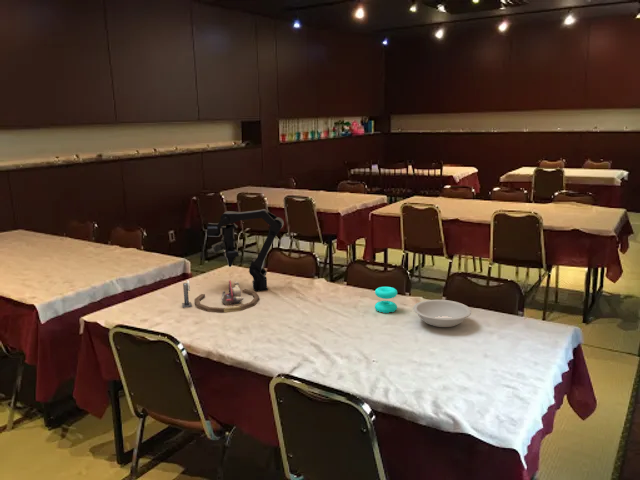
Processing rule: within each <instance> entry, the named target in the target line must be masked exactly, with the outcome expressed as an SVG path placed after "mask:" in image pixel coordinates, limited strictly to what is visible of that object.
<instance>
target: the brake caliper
mask: <svg viewBox="0 0 640 480" xmlns="http://www.w3.org/2000/svg"><path fill="white" fill-rule="evenodd" d="M241 296H242V292H241V288H240V285H239V281H234V287H232V281H231V280H230V279H229V280H228V293H226V291H225V290H223V291H222V294H221V302H222V304H223V305H225V306H226V307H235V306H241V305H244V303H241V302H242V301H244V296H242V297H241Z"/></svg>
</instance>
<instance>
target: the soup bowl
mask: <svg viewBox="0 0 640 480" xmlns="http://www.w3.org/2000/svg"><path fill="white" fill-rule="evenodd" d="M412 310H413V312H414V313H415V314H417V315H418V316H419V318H420V319H421V320H422V321H423V322H424V323H426V324H428V325H431V326H432V327H433V326H434V327H438V328H450V327H455V326H458V325H460V324H461V323H463V322H464V321H465V320H466V318H469V317H470V316H471V315H472V309H471V308H470V307H469V306H468V305H466V304H463V303H461V302H458V301H455V300H454V301H453V300H448V299H427V300H426V299H425V300H422V301H420V302H419V301H418V302H416V303H415V304H414V305H413V307H412ZM438 316H440V317H442V316H448V317H452V318H435V317H438Z"/></svg>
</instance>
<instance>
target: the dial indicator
mask: <svg viewBox="0 0 640 480" xmlns="http://www.w3.org/2000/svg"><path fill="white" fill-rule="evenodd" d="M190 283H191V282H190V279H187V280H186V282H184V283H182V287H183V298H184V301H183V302H182V303H181V306H182V308H183V309H185V308H191V307H193V306H192V302H191V301H190V300H189V291H191V285H190Z"/></svg>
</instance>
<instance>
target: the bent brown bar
mask: <svg viewBox="0 0 640 480" xmlns="http://www.w3.org/2000/svg"><path fill="white" fill-rule="evenodd" d="M241 293H243V294H246V295H248V296H252V297H253V299H252V300H251V301H250V302H247V303H243V305H237V306H226V307H218V306H217V307H216V306H215V307H214V306H209V305H205V304H202V303H201V301H202V300H204V299H205V298H206V294H205V293H200V294H199V295H198V296H197V297H195V298H194V305H195V308H196V309H198V310H202V311H205V312H209V313H210V312H211V313H231V312H240V311H243V310H246V309H249V308H252V307H255V306H256V305H257V303H258V302H259V301H260V295H259V294H258V293H257V291H255V290H250V289H247V288H243V289H242V292H241Z"/></svg>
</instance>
